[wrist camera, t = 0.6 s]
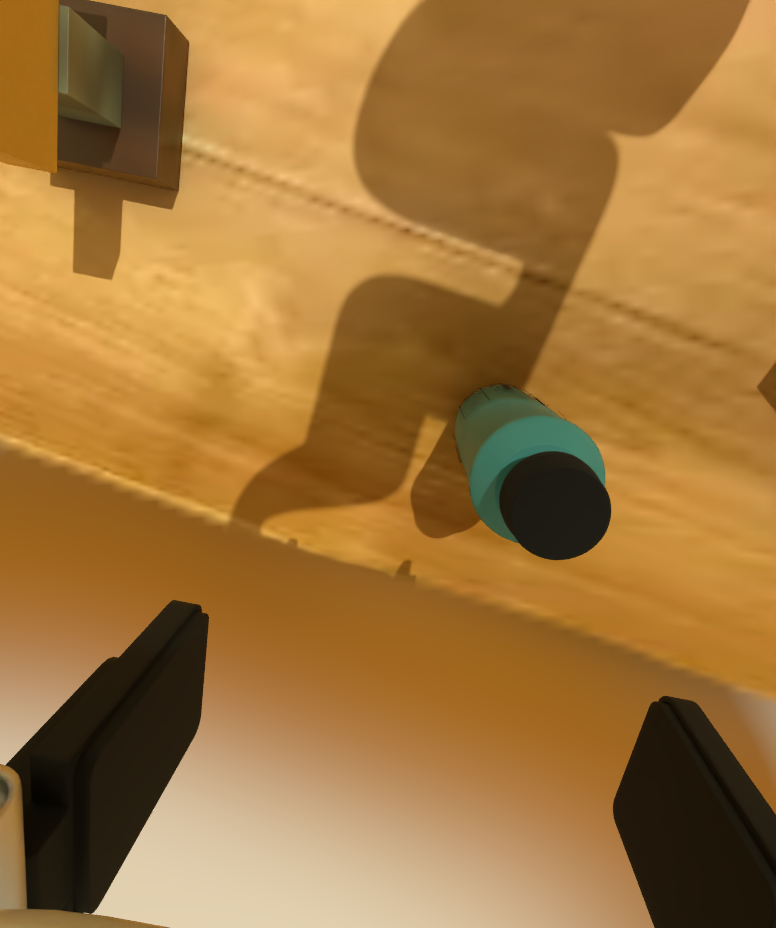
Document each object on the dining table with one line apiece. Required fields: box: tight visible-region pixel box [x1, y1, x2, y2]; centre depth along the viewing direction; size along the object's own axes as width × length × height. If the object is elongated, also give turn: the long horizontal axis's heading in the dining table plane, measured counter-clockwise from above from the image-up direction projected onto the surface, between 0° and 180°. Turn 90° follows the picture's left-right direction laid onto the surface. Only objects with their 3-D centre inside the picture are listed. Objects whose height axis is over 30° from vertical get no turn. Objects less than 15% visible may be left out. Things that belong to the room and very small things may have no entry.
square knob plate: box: [57, 0, 189, 191], centre depth 31 cm, size 9×9×8 cm
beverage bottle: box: [454, 383, 611, 560], centre depth 29 cm, size 6×7×20 cm
